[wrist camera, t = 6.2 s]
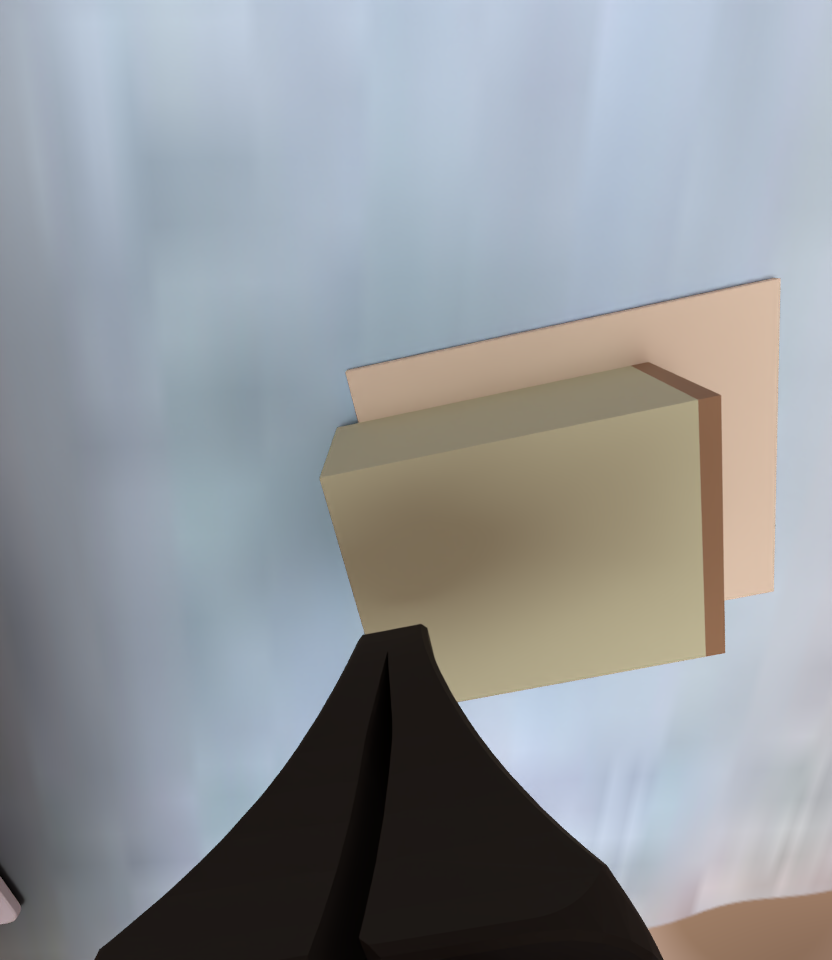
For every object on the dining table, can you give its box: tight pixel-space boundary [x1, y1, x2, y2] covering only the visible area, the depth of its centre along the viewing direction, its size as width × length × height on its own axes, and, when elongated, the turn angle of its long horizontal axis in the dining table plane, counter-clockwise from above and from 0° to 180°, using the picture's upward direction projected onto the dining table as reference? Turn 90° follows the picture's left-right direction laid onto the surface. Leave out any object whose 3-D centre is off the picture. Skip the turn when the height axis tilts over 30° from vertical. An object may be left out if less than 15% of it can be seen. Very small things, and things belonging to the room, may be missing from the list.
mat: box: [346, 278, 780, 600], centre depth 18 cm, size 12×10×1 cm
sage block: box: [320, 362, 725, 702], centre depth 16 cm, size 4×7×9 cm
